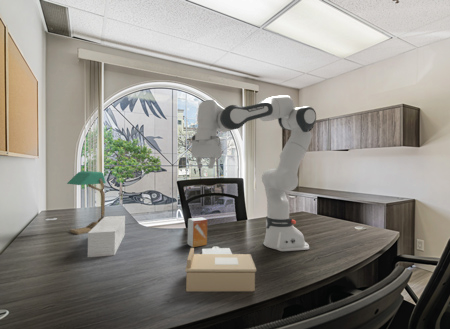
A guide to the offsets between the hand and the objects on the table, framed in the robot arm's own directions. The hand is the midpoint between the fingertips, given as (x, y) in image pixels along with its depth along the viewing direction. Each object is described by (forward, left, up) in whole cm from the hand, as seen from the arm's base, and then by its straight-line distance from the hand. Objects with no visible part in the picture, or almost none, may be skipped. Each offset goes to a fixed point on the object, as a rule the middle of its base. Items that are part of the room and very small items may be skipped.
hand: (205, 168), depth 106 cm
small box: (+4, -15, -39) cm, 42 cm away
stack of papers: (+48, -15, -40) cm, 64 cm away
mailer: (-7, +23, -39) cm, 46 cm away
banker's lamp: (+70, -40, -39) cm, 89 cm away
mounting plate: (-6, +1, -40) cm, 40 cm away
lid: (-7, +23, -33) cm, 41 cm away
